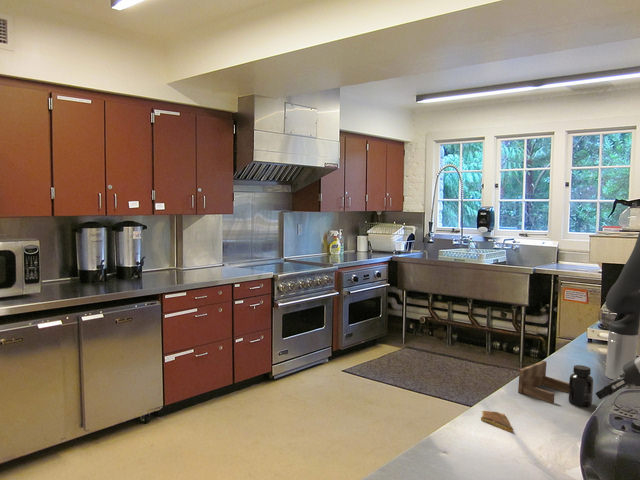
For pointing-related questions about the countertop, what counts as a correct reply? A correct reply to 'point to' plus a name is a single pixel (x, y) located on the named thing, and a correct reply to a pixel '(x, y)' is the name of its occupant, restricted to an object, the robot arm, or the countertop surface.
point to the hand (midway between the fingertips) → (598, 395)
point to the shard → (497, 420)
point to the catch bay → (539, 382)
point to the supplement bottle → (581, 387)
